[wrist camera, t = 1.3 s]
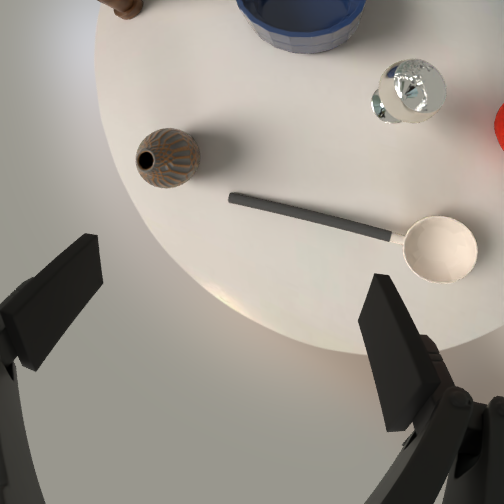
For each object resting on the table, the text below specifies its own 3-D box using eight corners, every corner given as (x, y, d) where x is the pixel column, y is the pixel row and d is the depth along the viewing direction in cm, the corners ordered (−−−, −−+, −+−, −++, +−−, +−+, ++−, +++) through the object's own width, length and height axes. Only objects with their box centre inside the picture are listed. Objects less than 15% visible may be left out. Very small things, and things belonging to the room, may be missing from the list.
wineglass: (363, 123, 32) (384, 111, 21) (367, 76, 30) (388, 45, 19) (410, 133, 31) (450, 127, 20) (414, 87, 30) (453, 63, 18)
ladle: (458, 281, 35) (467, 295, 31) (237, 220, 43) (224, 228, 39) (478, 223, 32) (490, 232, 28) (246, 161, 40) (233, 163, 36)
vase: (149, 143, 38) (109, 145, 30) (195, 120, 36) (161, 114, 28) (168, 192, 40) (131, 204, 31) (215, 171, 38) (186, 178, 29)
